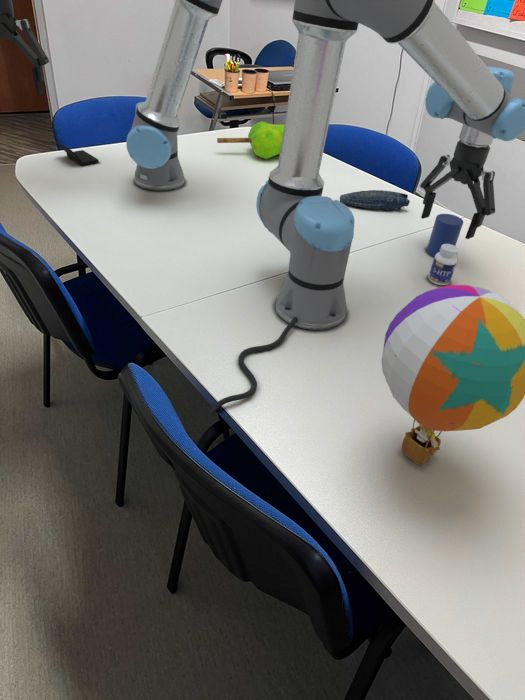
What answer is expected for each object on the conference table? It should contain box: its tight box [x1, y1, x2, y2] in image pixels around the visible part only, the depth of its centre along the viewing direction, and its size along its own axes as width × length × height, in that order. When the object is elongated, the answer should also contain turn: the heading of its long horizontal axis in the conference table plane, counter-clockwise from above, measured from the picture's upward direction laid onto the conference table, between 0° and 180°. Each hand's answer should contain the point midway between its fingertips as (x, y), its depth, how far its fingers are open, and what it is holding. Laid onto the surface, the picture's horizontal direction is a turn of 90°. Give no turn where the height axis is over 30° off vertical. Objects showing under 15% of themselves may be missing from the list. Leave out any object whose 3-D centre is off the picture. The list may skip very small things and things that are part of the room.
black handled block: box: [54, 140, 100, 166], centre depth 170 cm, size 12×7×10 cm
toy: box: [381, 284, 525, 467], centre depth 73 cm, size 20×20×30 cm
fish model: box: [339, 189, 411, 211], centre depth 158 cm, size 7×21×5 cm, turn 84°
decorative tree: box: [216, 121, 285, 160], centre depth 186 cm, size 18×10×30 cm
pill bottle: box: [427, 244, 459, 286], centre depth 124 cm, size 5×5×9 cm
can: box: [426, 213, 464, 258], centre depth 136 cm, size 7×7×10 cm
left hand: (13, 92), depth 133 cm, fingers open, 13 cm apart
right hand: (446, 227), depth 134 cm, fingers open, 13 cm apart
